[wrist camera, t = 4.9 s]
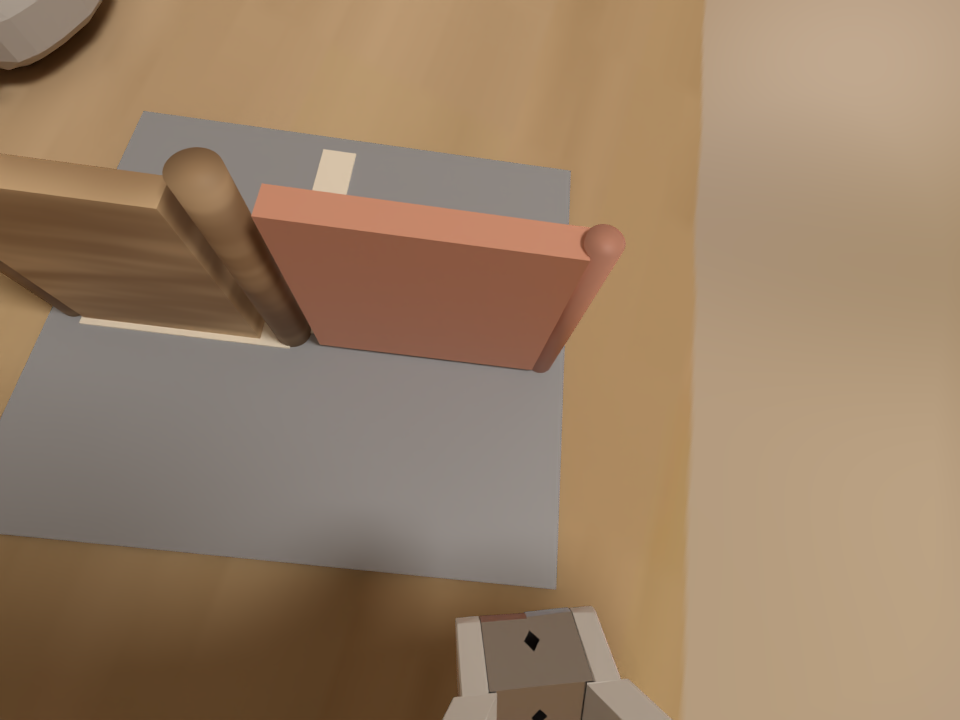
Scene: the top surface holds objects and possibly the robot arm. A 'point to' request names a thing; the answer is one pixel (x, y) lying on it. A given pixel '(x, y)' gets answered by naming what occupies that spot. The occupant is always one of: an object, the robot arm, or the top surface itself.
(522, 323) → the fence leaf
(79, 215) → the fence fixed
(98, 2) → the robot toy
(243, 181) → the board
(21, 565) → the top surface
